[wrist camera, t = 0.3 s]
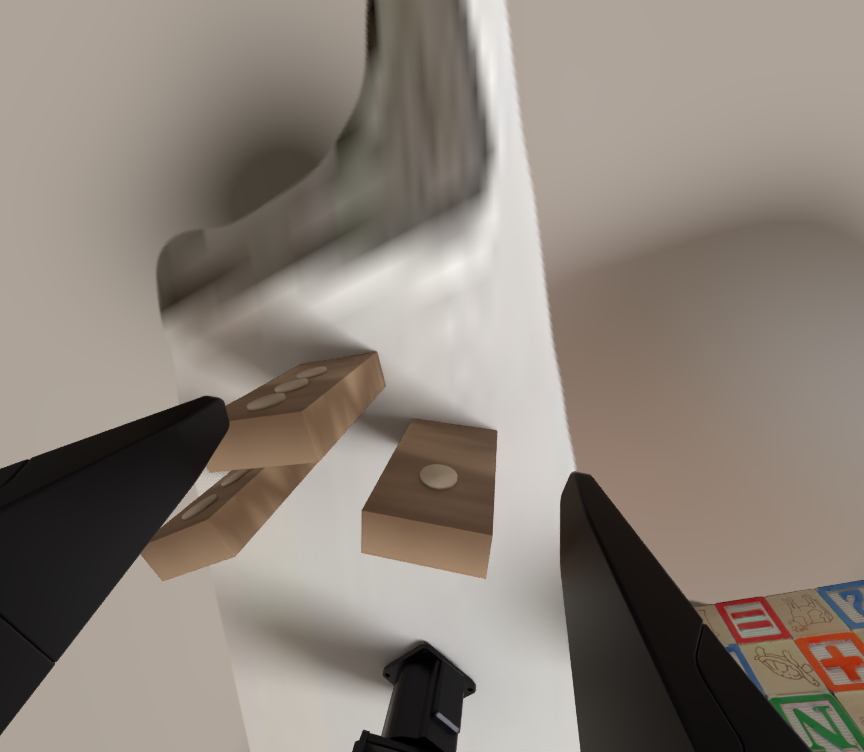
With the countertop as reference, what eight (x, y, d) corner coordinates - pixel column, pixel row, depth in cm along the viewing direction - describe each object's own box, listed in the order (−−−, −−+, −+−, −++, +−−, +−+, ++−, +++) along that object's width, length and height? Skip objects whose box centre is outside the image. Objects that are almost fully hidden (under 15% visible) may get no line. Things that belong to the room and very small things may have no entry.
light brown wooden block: (385, 385, 26) (318, 462, 17) (310, 396, 27) (209, 472, 18) (376, 348, 25) (300, 407, 16) (299, 361, 27) (187, 422, 17)
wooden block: (492, 462, 26) (485, 579, 17) (410, 448, 27) (361, 552, 18) (497, 428, 25) (493, 531, 16) (412, 415, 26) (361, 507, 17)
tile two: (322, 457, 29) (235, 556, 20) (266, 480, 31) (162, 581, 21) (303, 428, 28) (205, 516, 19) (247, 454, 30) (133, 545, 21)
